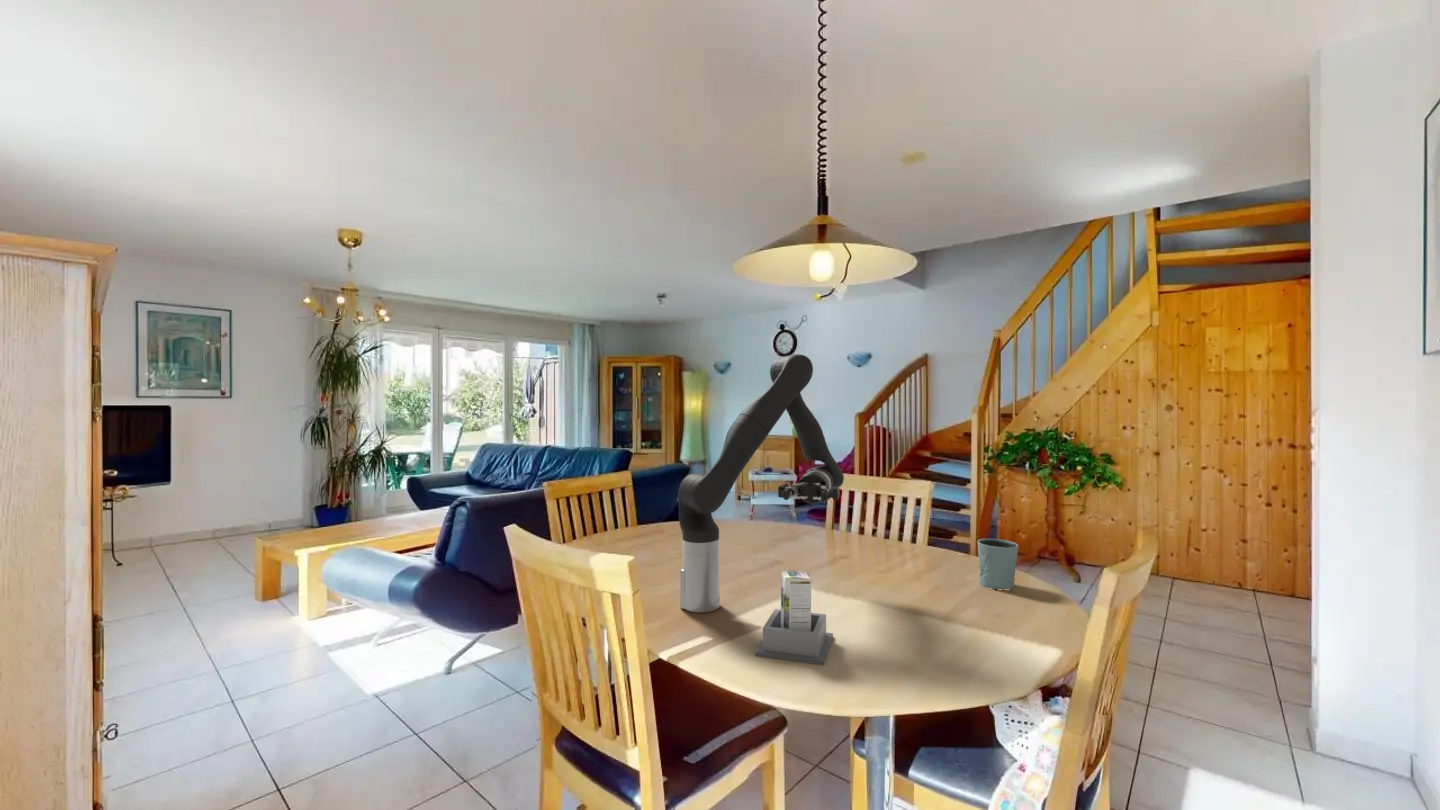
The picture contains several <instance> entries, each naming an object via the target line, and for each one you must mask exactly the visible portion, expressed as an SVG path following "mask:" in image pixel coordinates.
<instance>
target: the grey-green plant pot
mask: <svg viewBox="0 0 1440 810" xmlns="http://www.w3.org/2000/svg"><path fill="white" fill-rule="evenodd" d="M1018 553H1019V545H1018V544H1017V543H1016V542H1014V541H1010V540H1006V539H1000V538H981V539H978V540H977V555H978V567H979V568H978V569H979V573H978V574H979V575H978V576H979V585H980V584H981V585H982V586H981V585H980V586H981V587H983V586H984V587H983V588H985V587H987V588H992V589H1002V590H1004V589H1012V588H1013V587H1015V579H1016V578H1015V576H1016V568H1017V567H1016V565H1017V559H1018ZM987 588H986V589H987ZM1013 589H1014V588H1013ZM1013 589H1012V590H1013Z"/></svg>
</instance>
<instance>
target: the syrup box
mask: <svg viewBox="0 0 1440 810" xmlns="http://www.w3.org/2000/svg"><path fill="white" fill-rule="evenodd" d="M780 576H781V577H780V578H781V580H780V582H781V583H780V584H781V586H780V587H781V588H780V609H781V628H785V629H794V630H802V631H810V632H811V613H812V578H811V576H810V575H809V572H807V570H800V569H799V570H798V569H797V570H796V569H792V570H791V569H789V570H781V575H780Z"/></svg>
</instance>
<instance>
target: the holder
mask: <svg viewBox="0 0 1440 810" xmlns="http://www.w3.org/2000/svg"><path fill="white" fill-rule="evenodd" d="M833 638H834V633H833V632H827V614H825V613H816V612H811V632H810V631H802V630H794V629H785V628H781V608H780V609H778V608H774V610H773V611H772V612H771V614H770V616H769V617H768V619H767V621H766V622H765V624H764V625H763V627H762V640H761V641H760V643H759V644H758V647H757V648H756V649H755V651H754V656H755V657H763V658H769V659H778V660H785V661H791V662H798V663H799V662H800V663H805V664H807V663H808V664H812V665H813V664H814V665H820V666H824V665H825V663H826V660H827V657H828V653H829V650H830V648H831V644H832V641H833Z"/></svg>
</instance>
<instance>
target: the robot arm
mask: <svg viewBox="0 0 1440 810" xmlns="http://www.w3.org/2000/svg"><path fill="white" fill-rule="evenodd" d="M813 374H814V366H813V363H812V361H811V359H810V358H809V357H808V356H806V355H804V354H789V355H785V356H781V357H778V358H776V359H775V360H774V361H772V363H771V366H770V370H769V375H770V380H771V382H772V384H771V386H770V387H769V388H768V389H767V390H766V391H764V392H763V393H762V394H760V396H758V397H757V398H756V399H754V400H753V401H752V402H751V403H749V404H748V405H747V406H746V407H745V408H744V409H742V411H741V412H740V413H739V414H738V416H737V417H736V418H735V420H734V421H733V423H732V424H731V425H730V427H729V428H728V430H727V433H726V435H725V439H724V443H723V448H722V451H721V453H720V455H719V458H717V460H716V462H715V463H714V464H713V465H712V467H711V468H710V469H709V471H708V472H706V474H705V475H704V474H700V473H691V474H688V475H686V476H685V477H684V478H683V479H682V481H681V483H680V485H679V488H678V495H677V496H678V498H677V499H678V500H677V501H678V519H679V520H678V522H679V526H680V527H679V528H680V530H681V532H682V533H681V534H682V568H681V569H680V570H679V595H680V596H679V597H680V598H679V600H680V601H679V602H680V603H679V607H680V609H683V610H685V611H689V612H692V613H699V614H700V613H710V612H714V611H717V610H718V609H719V608H720V607H721V605H720V604H721V602H720V601H721V598H720V597H721V596H720V595H721V594H720V592H721V591H720V589H721V588H720V587H721V586H720V584H721V583H720V528H719V527H718V525H717V523H716V522H715V521H714V518H713V516H712V513H715V512H716V511H718V509H720V507H721V506H722V505H723V504H724V502H725V500H726V499H727V497H728V495H729V494H730V491H731V490H732V488H733V486H734V485H735V483H736V481H737V479H738V477H739V476H740V474H741V473H742V471H743V470H744V469H745V467H746V466H747V465H748V463H749V462H750V461H751V459H752V457H753V456H754V455H755V453H756V452H757V451H758V449H759V448H760V447H761V445H762V444H763V443H764V441H765V440H766V438H767V437H768V435H769V434H770V432H771V431H772V430H773V428H774V426H775V425H776V424H777V423H778V421H779V420H780V418H781V417H782V416H783V414H784V413H785V411H786V412H787V414H788V416H789V418H790V421H791V423H792V425H793V427H794V430H795V433H796V435H797V439H798V442H799V445H800V447H801V451H802V454H803V456H804V458H805V460H806V461H808V462H809V461H811V462H815V461H816V462H818V461H819V462H822V463H823V464H822V465H819V466H814V467H811V468H809V469H807V470H806V472H805V475H803V476H802V477H800V479H799V481H798V483H793V484H791V486H790V485H789V484H788V483H787V482H784V483H782V484H781V485H778V486H777V497H778V498H782V499H783V500H785V501H788V500H789V499H790V498H791V499H792V500H793V499H794V500H800V499H802V500H803V502H805V503H807V504H811V505H815V504H819V503H825V502H826V501H830V500H831V499H832V500H833V501H838V500H839V498H840V487H841V486H842V485H843V484H844V480H845V477H844V476H845V475H844V473H843V470H842V468H841V467H840V465H839V464H838V463H837V461H836V460H835V459H834V458H835V457H833V455H832V453H831V451H830V449H829V448H828V444H827V442H826V439H825V438H826V437H825V435H824V431H823V429H822V427H821V425H820V423H819V421H818V419H817V418H816V417H815V416H814V414H813V413H812V411H811V410H810V409H809V408H808V406H807V405H806V402H805V401H804V399H803V397H802V394H801V392H802V391H803V390H804V389H805V388H806V387H807V386H808V384H809V383H810V382H811V379H812V378H813V377H812V376H813Z"/></svg>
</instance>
